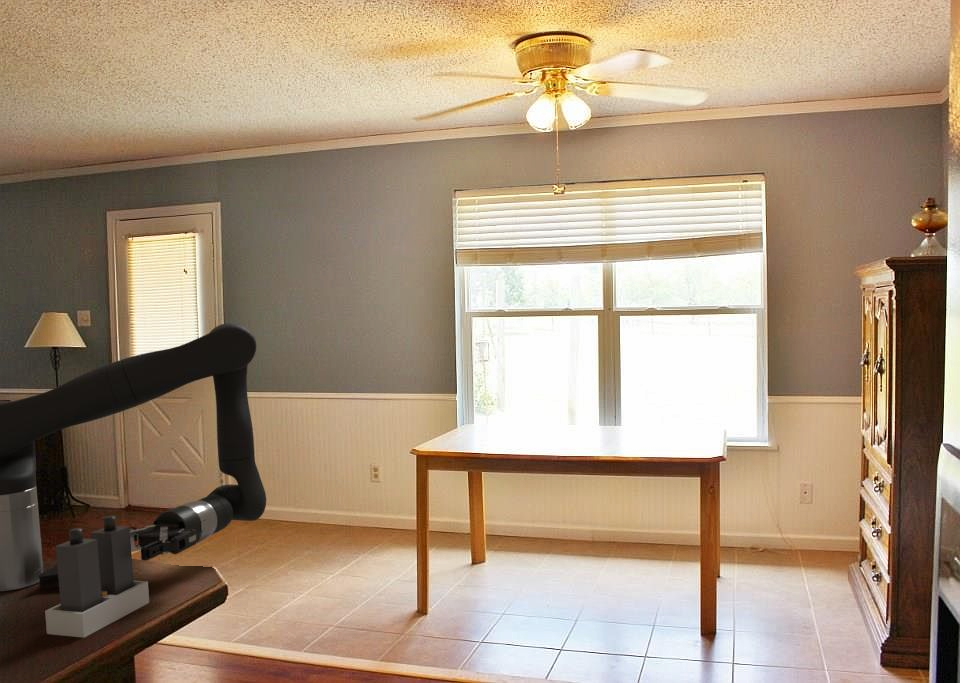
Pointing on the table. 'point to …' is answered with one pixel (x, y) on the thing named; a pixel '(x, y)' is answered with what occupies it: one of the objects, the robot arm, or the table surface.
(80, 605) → the twin plug
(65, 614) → the grey rectangular tray
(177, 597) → the table surface
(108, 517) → the plug
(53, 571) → the black sponge
